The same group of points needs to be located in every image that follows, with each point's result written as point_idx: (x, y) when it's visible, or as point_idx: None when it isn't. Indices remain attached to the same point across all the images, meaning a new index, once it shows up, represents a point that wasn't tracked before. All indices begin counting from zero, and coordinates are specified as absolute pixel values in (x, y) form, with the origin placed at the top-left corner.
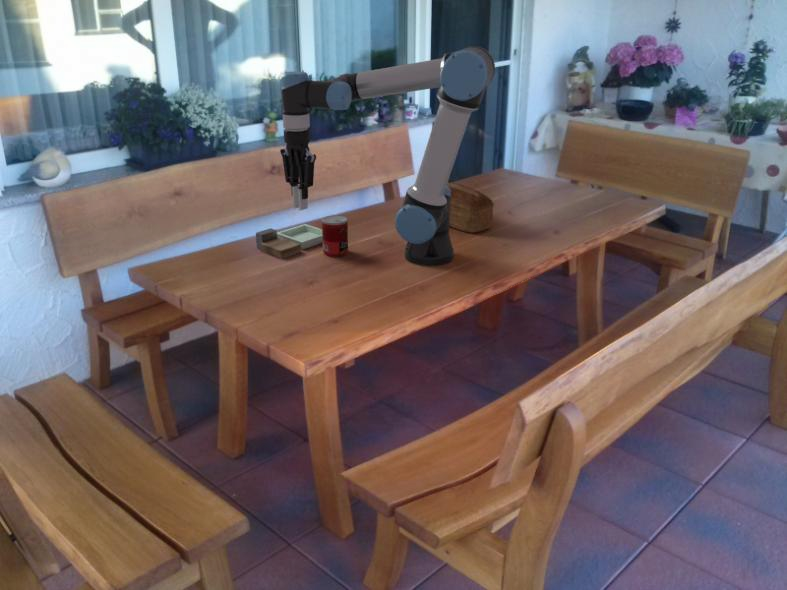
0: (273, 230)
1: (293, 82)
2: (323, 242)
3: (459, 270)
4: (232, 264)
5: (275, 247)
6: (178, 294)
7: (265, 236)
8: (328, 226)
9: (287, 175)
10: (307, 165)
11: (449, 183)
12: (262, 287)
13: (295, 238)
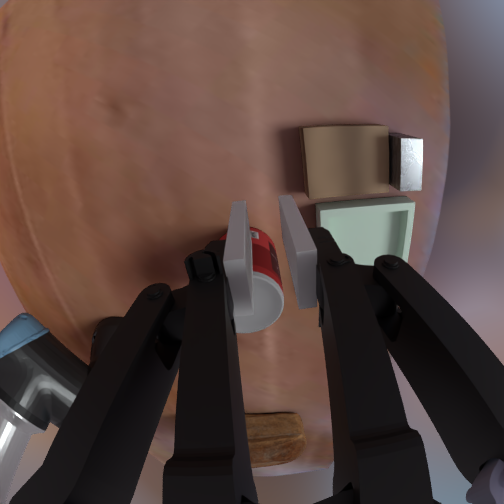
0: (405, 184)
1: None
2: (253, 239)
3: (75, 336)
4: (343, 23)
5: (336, 133)
6: None
7: (397, 149)
8: None
9: (403, 294)
10: (56, 452)
11: (256, 466)
12: (162, 8)
13: (376, 231)
